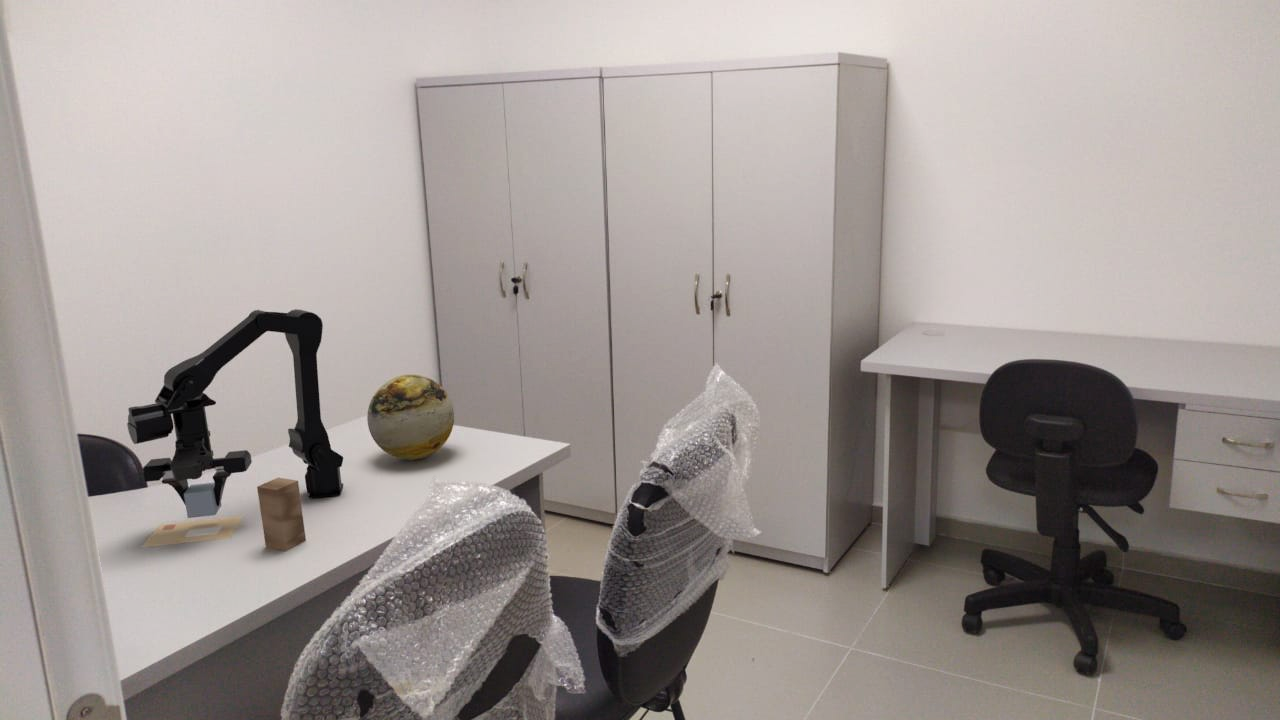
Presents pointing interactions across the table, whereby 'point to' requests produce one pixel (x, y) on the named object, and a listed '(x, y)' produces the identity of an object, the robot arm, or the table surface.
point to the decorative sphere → (410, 417)
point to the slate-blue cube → (201, 500)
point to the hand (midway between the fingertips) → (204, 506)
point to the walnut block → (281, 513)
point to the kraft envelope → (193, 531)
